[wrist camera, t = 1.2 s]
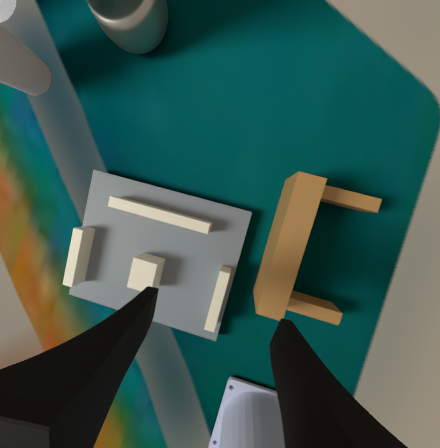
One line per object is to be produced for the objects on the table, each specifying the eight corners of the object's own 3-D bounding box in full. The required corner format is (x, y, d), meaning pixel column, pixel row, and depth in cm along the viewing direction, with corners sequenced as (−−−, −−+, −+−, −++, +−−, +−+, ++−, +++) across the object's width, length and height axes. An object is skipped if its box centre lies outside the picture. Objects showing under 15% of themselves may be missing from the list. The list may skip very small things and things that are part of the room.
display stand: (217, 334, 23) (213, 355, 20) (77, 289, 25) (51, 302, 21) (251, 211, 22) (253, 212, 19) (101, 171, 23) (77, 165, 20)
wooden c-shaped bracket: (366, 200, 21) (405, 197, 16) (328, 312, 22) (353, 343, 17) (285, 179, 21) (298, 171, 16) (253, 290, 23) (256, 313, 18)
